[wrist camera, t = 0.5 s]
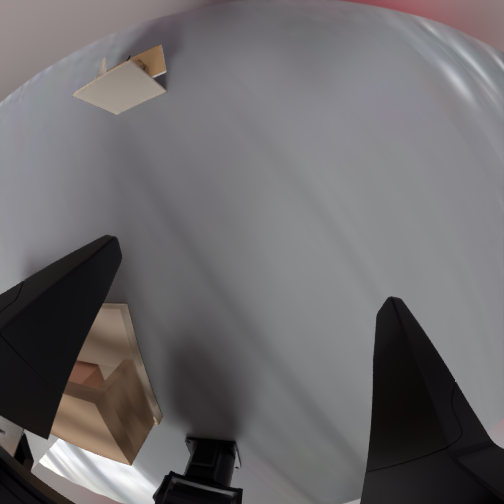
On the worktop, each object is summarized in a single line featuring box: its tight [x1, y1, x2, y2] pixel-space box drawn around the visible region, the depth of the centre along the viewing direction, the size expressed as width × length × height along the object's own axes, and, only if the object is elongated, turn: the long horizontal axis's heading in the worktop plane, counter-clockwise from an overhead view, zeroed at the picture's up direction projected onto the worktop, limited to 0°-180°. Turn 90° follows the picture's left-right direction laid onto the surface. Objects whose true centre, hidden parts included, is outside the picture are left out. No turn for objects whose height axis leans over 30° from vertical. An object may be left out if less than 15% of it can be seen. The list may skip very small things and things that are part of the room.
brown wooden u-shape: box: [50, 360, 155, 466], centre depth 22 cm, size 9×17×7 cm, turn 95°
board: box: [77, 303, 163, 425], centre depth 26 cm, size 16×17×2 cm
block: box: [68, 360, 105, 389], centre depth 24 cm, size 4×4×7 cm
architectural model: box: [72, 44, 167, 115], centre depth 17 cm, size 3×7×7 cm, turn 105°
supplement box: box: [24, 430, 58, 470], centre depth 27 cm, size 7×7×13 cm
